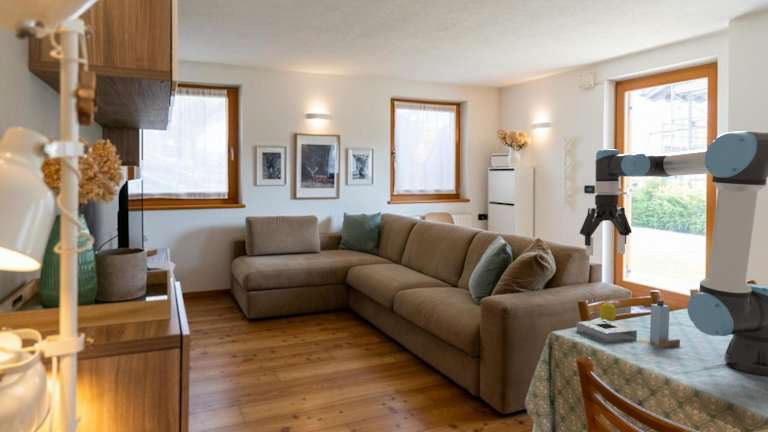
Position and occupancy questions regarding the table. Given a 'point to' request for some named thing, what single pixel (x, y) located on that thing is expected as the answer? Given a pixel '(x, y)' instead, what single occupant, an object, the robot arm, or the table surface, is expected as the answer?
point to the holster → (664, 343)
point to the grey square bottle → (659, 322)
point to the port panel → (606, 331)
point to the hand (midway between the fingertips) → (605, 254)
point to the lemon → (607, 311)
